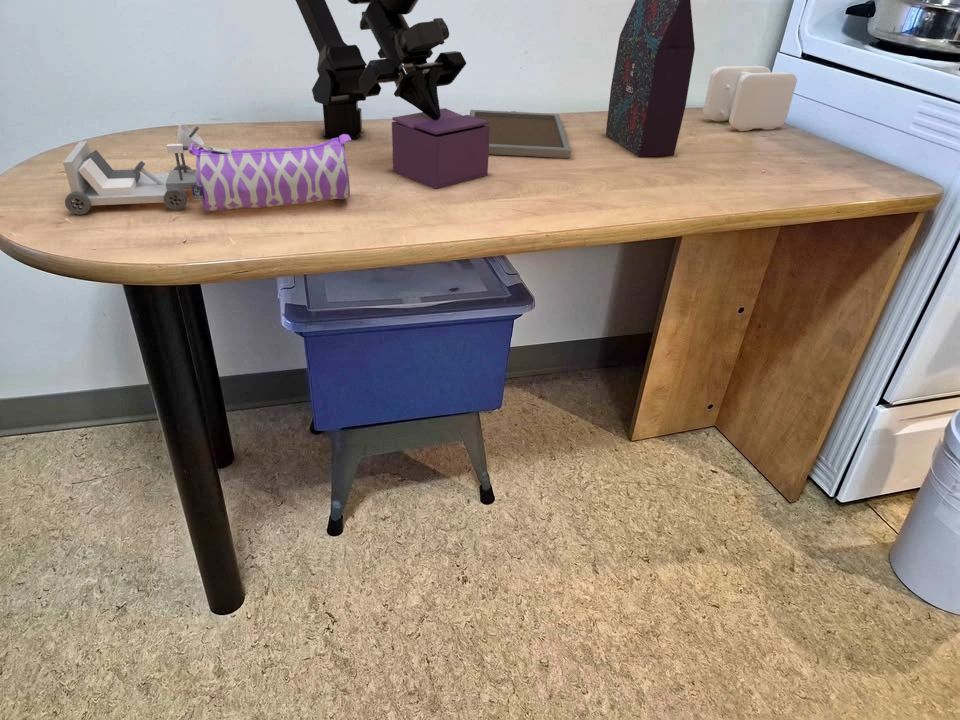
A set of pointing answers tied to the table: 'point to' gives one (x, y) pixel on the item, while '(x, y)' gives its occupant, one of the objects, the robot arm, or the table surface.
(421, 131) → the box
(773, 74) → the cable organizer
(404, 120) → the flap
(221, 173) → the pencil case
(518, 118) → the grey rectangular tray
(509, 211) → the table surface
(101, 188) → the toy car
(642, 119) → the decorative box
